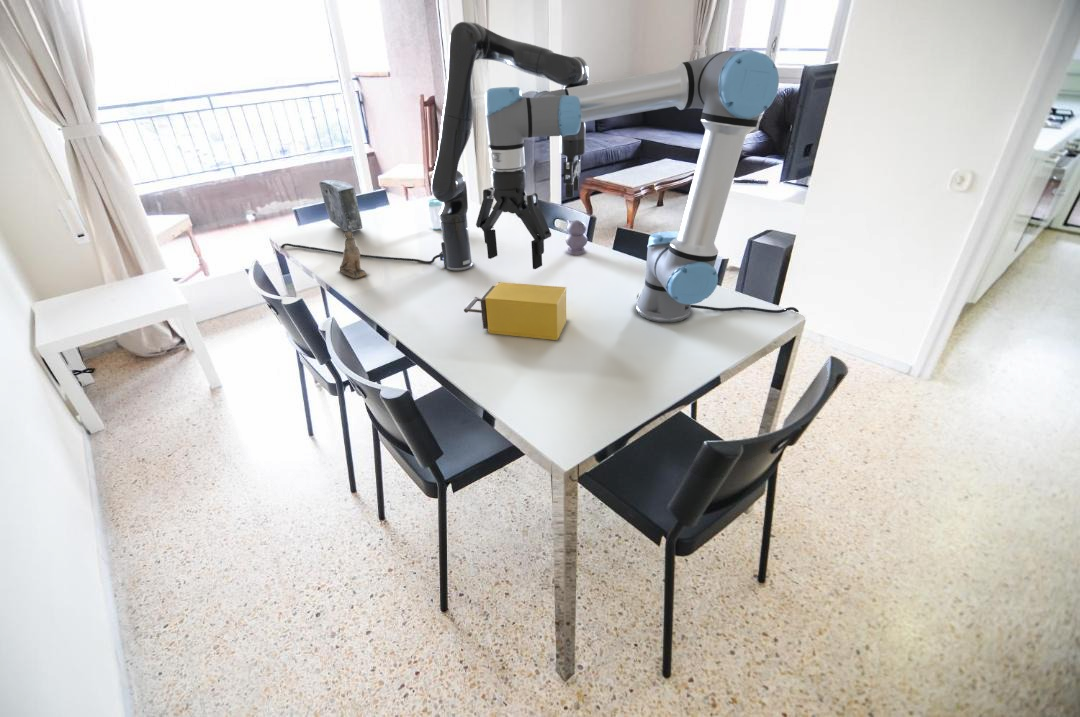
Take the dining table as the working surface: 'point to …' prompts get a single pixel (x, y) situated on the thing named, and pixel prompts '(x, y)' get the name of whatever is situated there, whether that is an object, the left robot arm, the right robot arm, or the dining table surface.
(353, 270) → the brown carved statuette
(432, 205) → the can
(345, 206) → the concrete block
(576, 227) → the grey rounded figurine
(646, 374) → the dining table surface
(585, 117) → the right robot arm
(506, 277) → the dining table surface
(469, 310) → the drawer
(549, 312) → the yellow box
